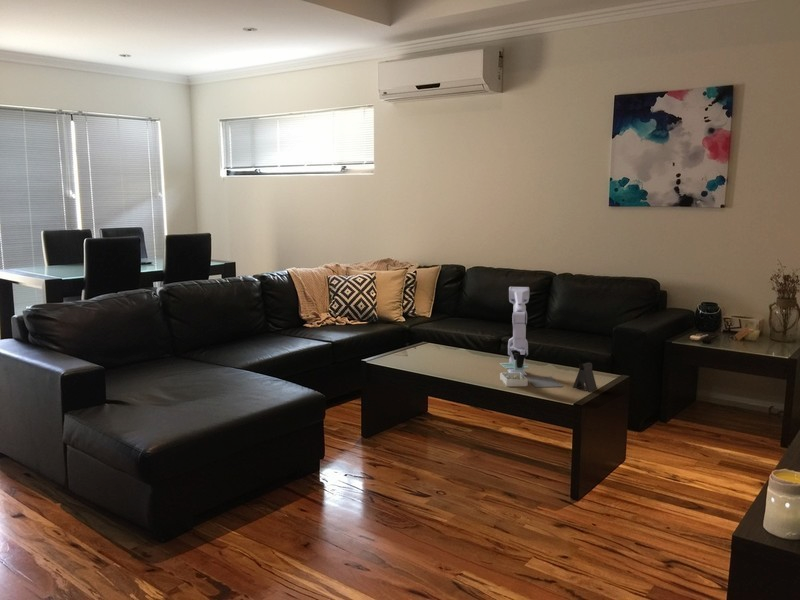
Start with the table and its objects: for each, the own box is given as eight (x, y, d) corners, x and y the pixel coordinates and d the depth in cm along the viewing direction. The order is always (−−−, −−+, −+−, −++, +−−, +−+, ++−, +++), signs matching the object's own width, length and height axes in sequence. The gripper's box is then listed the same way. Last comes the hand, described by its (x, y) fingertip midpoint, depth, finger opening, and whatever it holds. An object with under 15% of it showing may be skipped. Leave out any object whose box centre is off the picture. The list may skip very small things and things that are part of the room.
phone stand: (572, 388, 311) (573, 362, 309) (580, 385, 315) (581, 360, 313) (589, 392, 304) (590, 366, 302) (597, 389, 308) (598, 364, 306)
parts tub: (500, 379, 326) (500, 372, 326) (520, 378, 327) (520, 372, 327) (506, 386, 314) (506, 379, 313) (527, 386, 314) (527, 379, 314)
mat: (525, 377, 329) (525, 377, 329) (551, 377, 330) (551, 376, 330) (535, 387, 312) (535, 387, 312) (563, 386, 313) (563, 386, 313)
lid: (499, 364, 325) (499, 355, 325) (521, 363, 326) (521, 354, 326) (508, 370, 309) (508, 361, 308) (530, 369, 309) (530, 360, 309)
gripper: (506, 334, 316) (506, 363, 317) (514, 341, 301) (513, 370, 303) (521, 334, 316) (521, 362, 318) (530, 340, 302) (529, 370, 304)
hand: (518, 366), depth 311 cm, fingers closed on lid, 3 cm apart
